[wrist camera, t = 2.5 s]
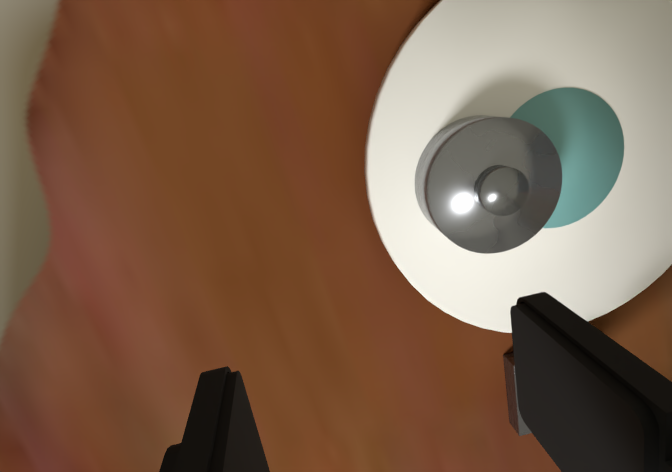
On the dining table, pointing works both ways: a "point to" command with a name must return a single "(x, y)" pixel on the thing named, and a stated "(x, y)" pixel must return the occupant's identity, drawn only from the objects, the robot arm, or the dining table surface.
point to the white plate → (561, 128)
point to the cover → (488, 182)
